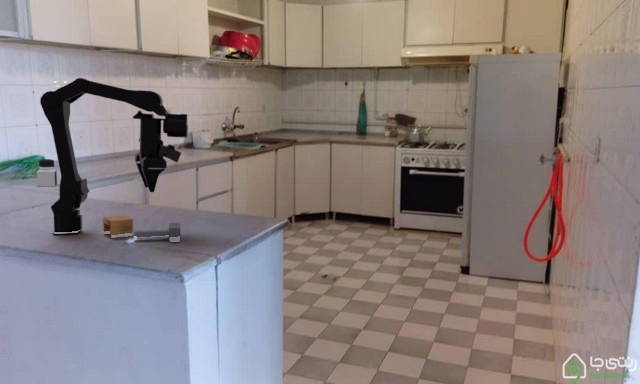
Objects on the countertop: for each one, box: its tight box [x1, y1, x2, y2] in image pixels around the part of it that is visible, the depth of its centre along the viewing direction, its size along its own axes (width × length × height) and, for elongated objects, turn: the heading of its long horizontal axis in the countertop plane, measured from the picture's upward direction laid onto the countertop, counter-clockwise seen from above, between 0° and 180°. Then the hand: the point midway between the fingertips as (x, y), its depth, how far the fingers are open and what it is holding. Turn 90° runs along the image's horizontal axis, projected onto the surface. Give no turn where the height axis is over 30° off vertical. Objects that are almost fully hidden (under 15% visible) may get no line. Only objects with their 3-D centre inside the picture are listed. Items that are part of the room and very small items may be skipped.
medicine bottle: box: [36, 158, 58, 188], centre depth 232 cm, size 7×7×12 cm
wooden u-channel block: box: [102, 214, 134, 236], centre depth 144 cm, size 6×6×5 cm
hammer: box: [133, 222, 181, 239], centre depth 140 cm, size 12×7×4 cm, turn 105°
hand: (149, 189), depth 148 cm, fingers open, 9 cm apart
